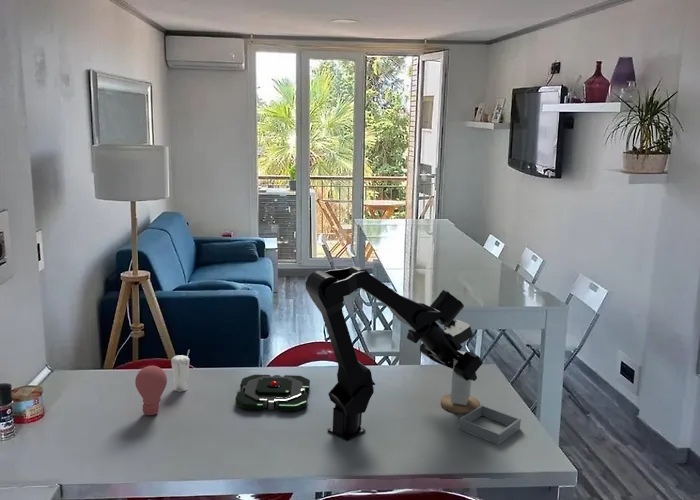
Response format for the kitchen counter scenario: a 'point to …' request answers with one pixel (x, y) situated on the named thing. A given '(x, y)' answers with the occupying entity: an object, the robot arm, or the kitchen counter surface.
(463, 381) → the skincare box
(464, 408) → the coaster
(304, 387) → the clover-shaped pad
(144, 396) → the light bulb
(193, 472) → the kitchen counter surface
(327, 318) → the robot arm
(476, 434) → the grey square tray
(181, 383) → the milkshake
